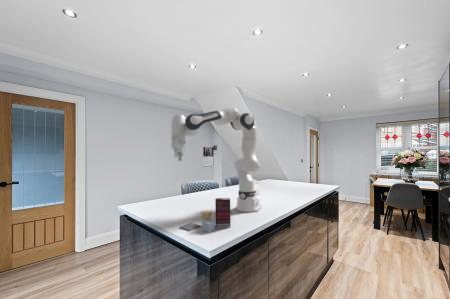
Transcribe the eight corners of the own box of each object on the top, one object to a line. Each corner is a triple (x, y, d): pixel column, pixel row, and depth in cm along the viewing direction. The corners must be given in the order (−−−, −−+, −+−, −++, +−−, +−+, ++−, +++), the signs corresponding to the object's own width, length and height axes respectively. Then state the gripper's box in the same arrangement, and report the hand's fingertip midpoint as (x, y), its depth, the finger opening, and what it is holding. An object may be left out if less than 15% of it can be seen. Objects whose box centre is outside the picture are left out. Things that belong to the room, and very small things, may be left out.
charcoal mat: (190, 223, 122) (190, 222, 122) (200, 226, 118) (200, 225, 118) (179, 228, 115) (179, 227, 115) (189, 231, 110) (189, 230, 110)
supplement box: (230, 224, 121) (230, 197, 121) (230, 227, 116) (230, 199, 116) (215, 224, 120) (215, 197, 121) (215, 227, 116) (215, 199, 116)
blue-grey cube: (207, 228, 115) (207, 219, 115) (215, 230, 112) (215, 221, 112) (202, 231, 111) (202, 221, 111) (209, 233, 108) (209, 223, 108)
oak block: (206, 223, 122) (206, 210, 123) (211, 225, 120) (211, 211, 120) (202, 225, 119) (202, 211, 119) (207, 227, 117) (207, 212, 117)
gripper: (179, 132, 122) (179, 154, 118) (186, 142, 142) (186, 162, 138) (168, 133, 122) (168, 155, 118) (177, 143, 142) (177, 162, 138)
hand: (178, 159), depth 128 cm, fingers open, 8 cm apart
